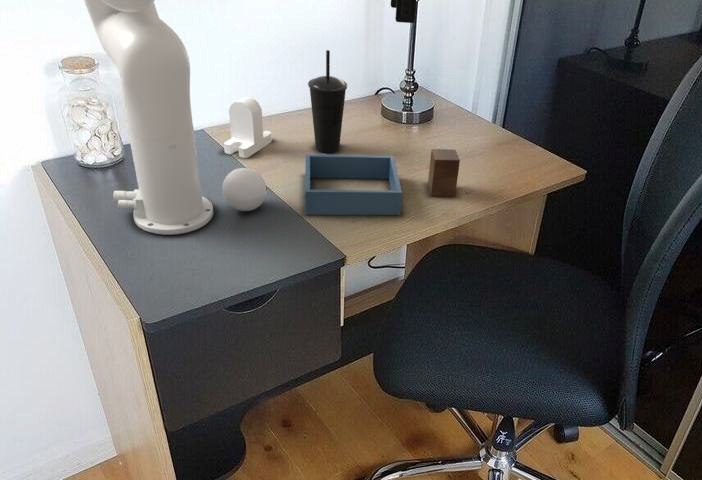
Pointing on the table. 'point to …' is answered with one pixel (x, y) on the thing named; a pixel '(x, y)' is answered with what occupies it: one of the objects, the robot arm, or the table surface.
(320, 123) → the drinking cup
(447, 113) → the table surface
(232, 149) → the cable organizer
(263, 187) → the white ball
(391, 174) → the desk tub
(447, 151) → the walnut block
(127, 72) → the robot arm
